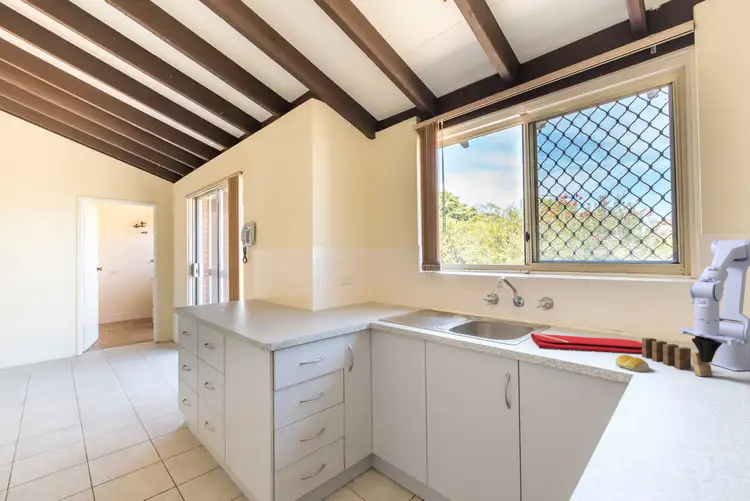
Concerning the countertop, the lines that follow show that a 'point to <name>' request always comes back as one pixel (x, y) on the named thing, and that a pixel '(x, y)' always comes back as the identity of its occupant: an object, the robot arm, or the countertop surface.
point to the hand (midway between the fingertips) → (706, 361)
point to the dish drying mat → (586, 344)
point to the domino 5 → (700, 365)
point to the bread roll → (632, 363)
